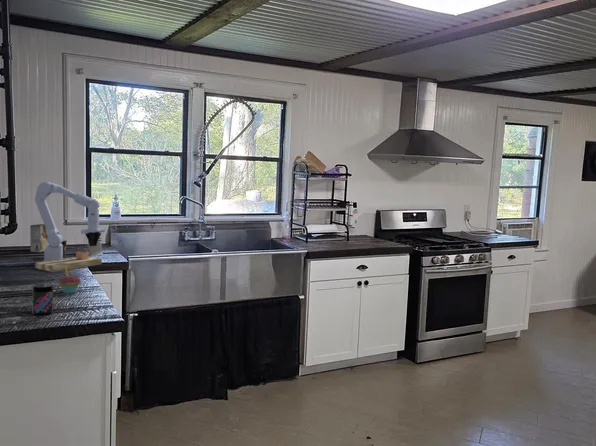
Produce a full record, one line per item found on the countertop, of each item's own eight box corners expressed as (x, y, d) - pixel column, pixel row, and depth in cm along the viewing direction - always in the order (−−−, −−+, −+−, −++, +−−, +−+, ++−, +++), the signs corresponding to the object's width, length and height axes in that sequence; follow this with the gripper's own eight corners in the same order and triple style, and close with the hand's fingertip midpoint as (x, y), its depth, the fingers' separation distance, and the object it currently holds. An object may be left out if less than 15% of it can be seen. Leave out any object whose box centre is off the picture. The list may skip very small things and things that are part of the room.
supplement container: (28, 315, 184) (28, 286, 183) (38, 310, 190) (38, 282, 189) (47, 316, 183) (47, 287, 182) (56, 311, 190) (56, 283, 189)
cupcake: (66, 295, 214) (66, 266, 213) (54, 292, 219) (54, 264, 217) (84, 291, 221) (85, 264, 220) (72, 288, 226) (72, 261, 225)
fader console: (35, 268, 264) (35, 262, 264) (84, 261, 291) (84, 255, 291) (53, 272, 258) (53, 265, 258) (101, 264, 284) (101, 258, 284)
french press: (106, 253, 318) (107, 213, 316) (90, 255, 308) (90, 214, 306) (96, 251, 323) (97, 212, 321) (80, 253, 314) (80, 212, 311)
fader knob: (76, 258, 281) (76, 251, 280) (82, 257, 284) (82, 250, 284) (82, 259, 278) (82, 252, 278) (88, 258, 282) (88, 251, 281)
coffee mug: (60, 259, 292) (60, 241, 291) (46, 258, 294) (46, 240, 293) (73, 256, 304) (73, 239, 303) (59, 255, 305) (60, 238, 304)
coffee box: (37, 249, 321) (37, 223, 320) (48, 250, 321) (48, 224, 320) (30, 251, 312) (30, 225, 311) (40, 252, 312) (40, 225, 311)
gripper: (87, 222, 277) (87, 248, 278) (108, 221, 290) (108, 245, 291) (78, 221, 280) (78, 246, 282) (100, 220, 293) (99, 244, 294)
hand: (93, 245), depth 287 cm, fingers closed
